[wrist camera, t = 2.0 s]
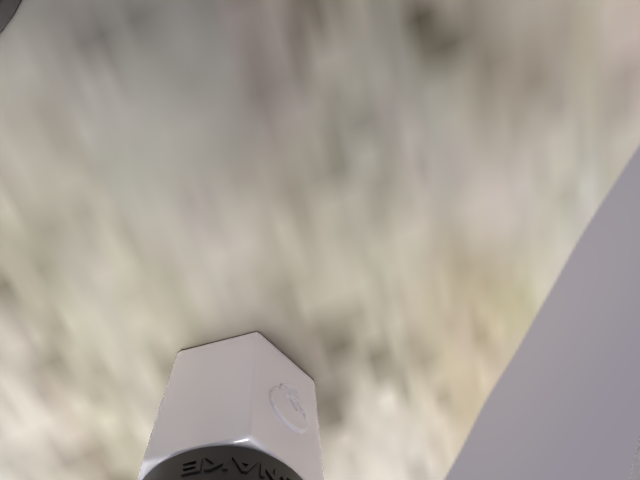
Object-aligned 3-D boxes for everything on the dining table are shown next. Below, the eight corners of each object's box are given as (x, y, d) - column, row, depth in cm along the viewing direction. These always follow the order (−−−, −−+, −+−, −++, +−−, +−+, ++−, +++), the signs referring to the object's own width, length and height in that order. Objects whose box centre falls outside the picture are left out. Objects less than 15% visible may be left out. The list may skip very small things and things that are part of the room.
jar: (344, 401, 35) (374, 574, 24) (245, 485, 37) (230, 686, 26) (230, 301, 33) (204, 441, 22) (130, 396, 34) (56, 573, 23)
